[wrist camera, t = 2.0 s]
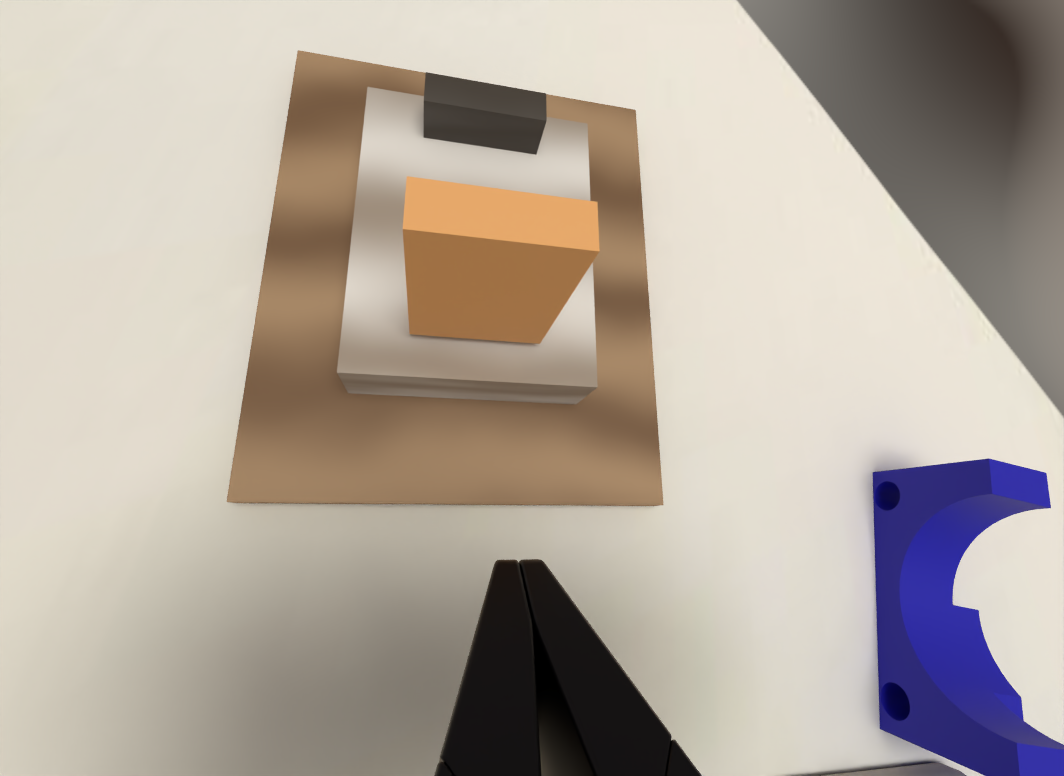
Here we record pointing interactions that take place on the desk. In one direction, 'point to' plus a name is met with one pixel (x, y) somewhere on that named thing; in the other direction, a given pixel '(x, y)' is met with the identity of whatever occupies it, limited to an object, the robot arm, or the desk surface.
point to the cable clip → (949, 617)
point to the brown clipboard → (432, 361)
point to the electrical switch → (909, 771)
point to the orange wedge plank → (492, 259)
